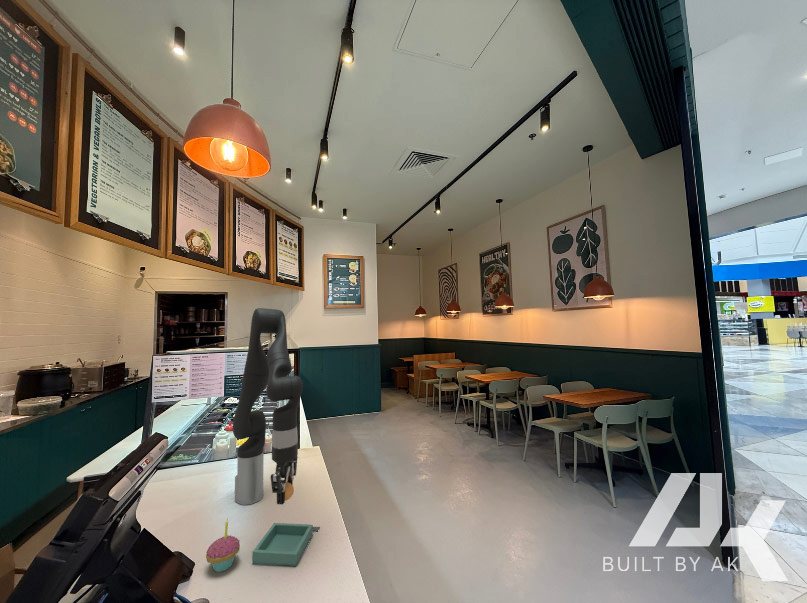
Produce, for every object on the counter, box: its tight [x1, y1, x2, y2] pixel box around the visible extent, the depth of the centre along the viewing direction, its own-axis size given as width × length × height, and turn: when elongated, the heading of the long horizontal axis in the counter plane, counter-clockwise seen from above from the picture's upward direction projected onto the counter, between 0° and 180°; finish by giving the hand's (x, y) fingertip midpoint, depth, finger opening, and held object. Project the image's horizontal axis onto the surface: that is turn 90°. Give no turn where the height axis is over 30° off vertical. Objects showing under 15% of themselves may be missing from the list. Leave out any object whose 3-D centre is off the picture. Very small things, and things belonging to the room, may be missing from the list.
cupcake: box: [205, 518, 241, 573], centre depth 94 cm, size 9×8×12 cm
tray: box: [251, 522, 314, 568], centre depth 100 cm, size 13×13×4 cm
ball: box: [275, 482, 295, 502], centre depth 100 cm, size 5×5×5 cm
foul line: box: [313, 526, 321, 533], centre depth 109 cm, size 15×2×1 cm, turn 85°
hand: (284, 498), depth 100 cm, fingers closed on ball, 5 cm apart
